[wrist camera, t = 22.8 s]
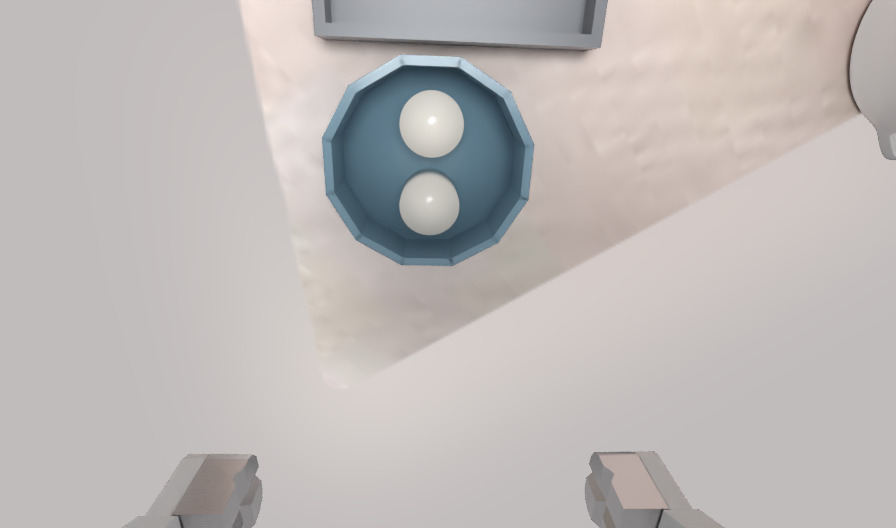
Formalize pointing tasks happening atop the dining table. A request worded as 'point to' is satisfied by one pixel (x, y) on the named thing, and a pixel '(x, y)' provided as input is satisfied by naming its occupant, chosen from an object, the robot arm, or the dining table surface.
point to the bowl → (427, 160)
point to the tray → (465, 22)
